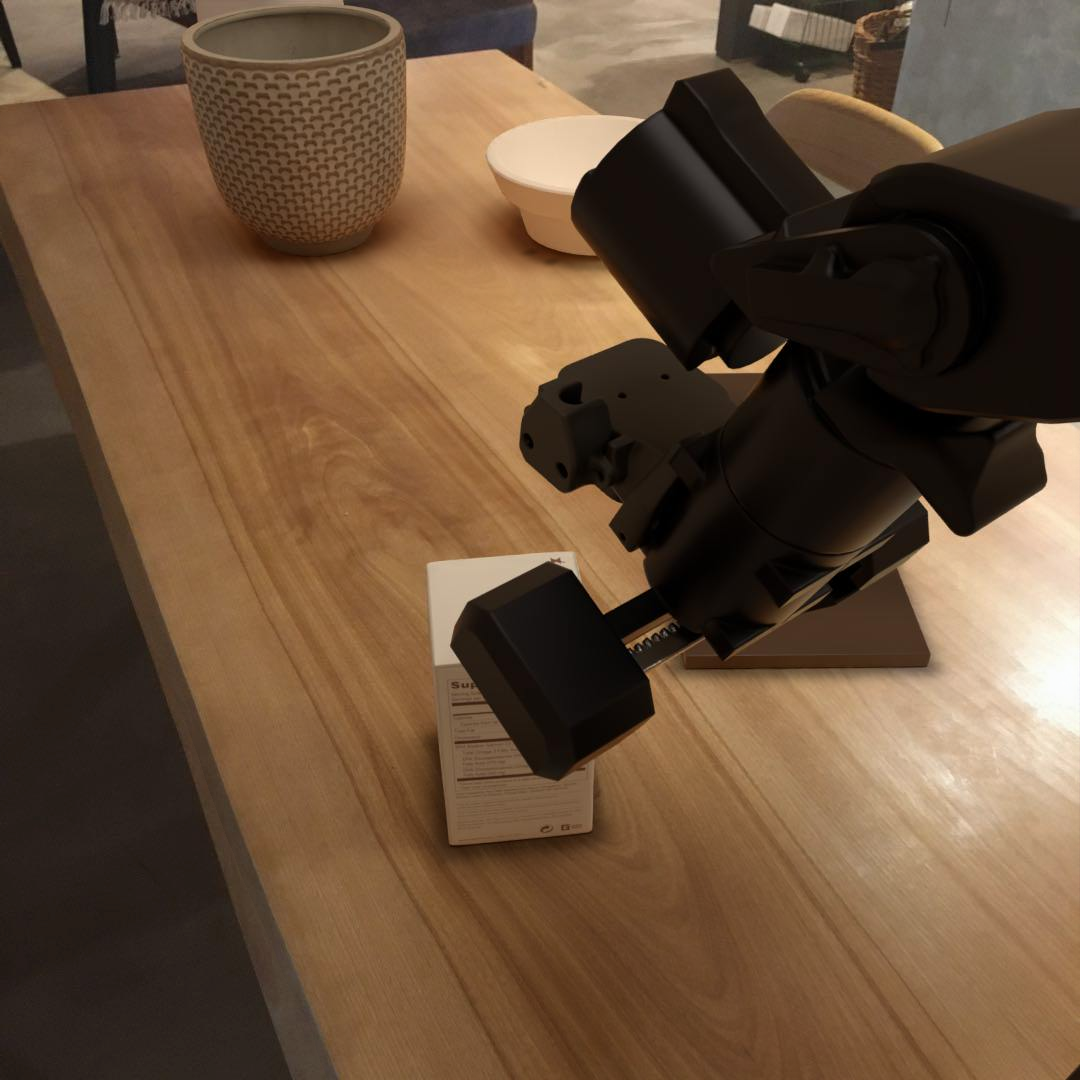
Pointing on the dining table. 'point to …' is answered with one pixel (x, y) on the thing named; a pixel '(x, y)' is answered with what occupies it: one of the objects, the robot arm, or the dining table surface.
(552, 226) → the bowl
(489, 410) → the dining table surface
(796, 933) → the dining table surface
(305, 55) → the planter
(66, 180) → the dining table surface
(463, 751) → the white packaging box
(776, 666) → the board
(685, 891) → the dining table surface
